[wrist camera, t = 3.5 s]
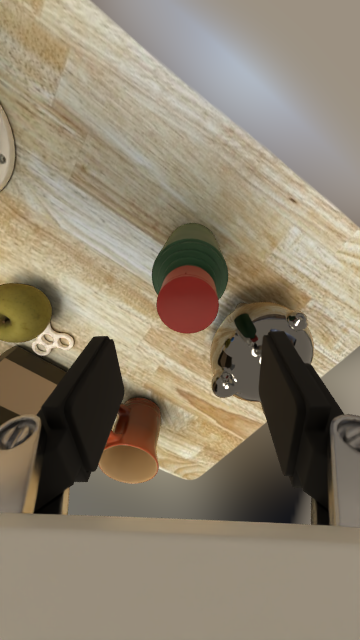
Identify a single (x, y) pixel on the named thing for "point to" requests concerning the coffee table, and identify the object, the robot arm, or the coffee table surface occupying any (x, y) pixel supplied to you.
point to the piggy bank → (253, 346)
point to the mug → (133, 443)
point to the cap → (188, 300)
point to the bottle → (25, 383)
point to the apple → (23, 312)
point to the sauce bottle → (191, 256)
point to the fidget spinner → (51, 344)
